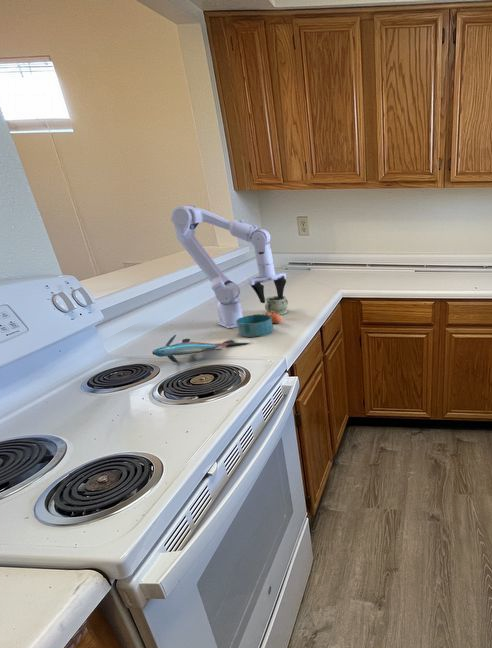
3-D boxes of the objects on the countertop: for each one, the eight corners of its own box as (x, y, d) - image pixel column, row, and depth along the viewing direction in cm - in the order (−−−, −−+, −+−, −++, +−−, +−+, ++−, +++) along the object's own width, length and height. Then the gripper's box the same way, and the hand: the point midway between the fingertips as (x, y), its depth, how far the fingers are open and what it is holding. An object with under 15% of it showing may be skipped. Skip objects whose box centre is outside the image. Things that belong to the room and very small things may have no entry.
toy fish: (262, 321, 164) (260, 310, 162) (270, 319, 166) (269, 308, 164) (275, 325, 158) (274, 314, 156) (284, 323, 160) (282, 312, 158)
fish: (138, 362, 121) (166, 372, 114) (136, 334, 120) (164, 342, 112) (230, 351, 146) (258, 358, 138) (229, 327, 144) (257, 333, 136)
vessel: (281, 308, 181) (279, 293, 179) (295, 310, 177) (293, 295, 174) (259, 314, 172) (256, 300, 170) (274, 317, 168) (271, 302, 165)
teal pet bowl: (232, 333, 150) (229, 320, 148) (262, 325, 158) (260, 312, 156) (249, 340, 143) (247, 326, 141) (280, 331, 151) (277, 318, 149)
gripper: (253, 268, 145) (260, 306, 150) (288, 261, 154) (294, 297, 160) (242, 266, 149) (250, 303, 155) (277, 260, 159) (283, 295, 164)
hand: (271, 300), depth 158 cm, fingers open, 7 cm apart
